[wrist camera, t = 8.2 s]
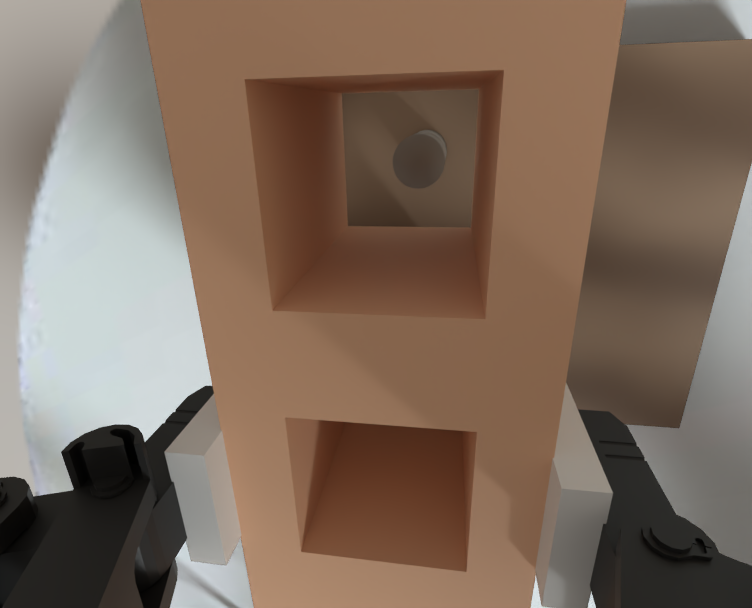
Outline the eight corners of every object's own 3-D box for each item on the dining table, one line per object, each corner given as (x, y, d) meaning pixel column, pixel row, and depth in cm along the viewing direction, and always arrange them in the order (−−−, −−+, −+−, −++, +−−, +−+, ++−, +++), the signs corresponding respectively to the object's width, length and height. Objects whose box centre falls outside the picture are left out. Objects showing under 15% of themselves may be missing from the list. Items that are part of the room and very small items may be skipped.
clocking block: (489, 547, 17) (506, 756, 11) (329, 529, 18) (274, 716, 12) (543, -2, 10) (646, -127, 5) (285, 13, 11) (125, -79, 6)
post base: (661, 403, 23) (783, 573, 15) (284, 378, 26) (201, 507, 18) (751, 45, 17) (1045, -23, 9) (250, 66, 20) (99, 31, 12)
